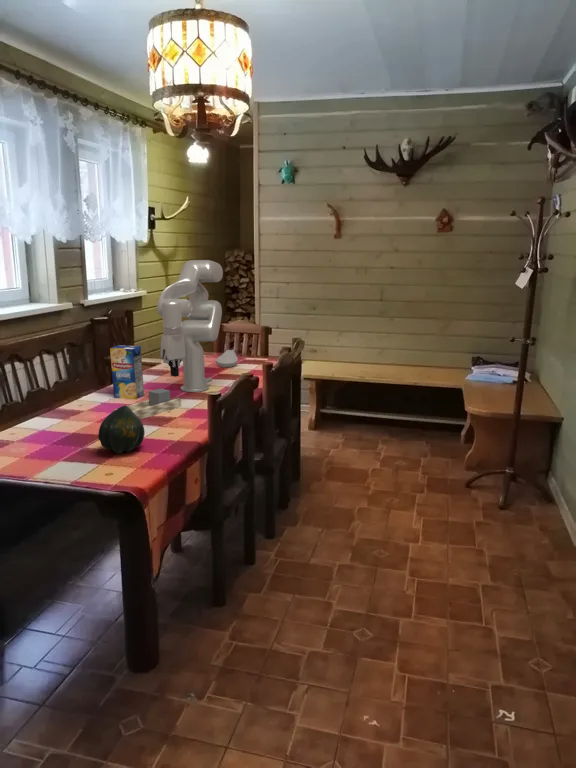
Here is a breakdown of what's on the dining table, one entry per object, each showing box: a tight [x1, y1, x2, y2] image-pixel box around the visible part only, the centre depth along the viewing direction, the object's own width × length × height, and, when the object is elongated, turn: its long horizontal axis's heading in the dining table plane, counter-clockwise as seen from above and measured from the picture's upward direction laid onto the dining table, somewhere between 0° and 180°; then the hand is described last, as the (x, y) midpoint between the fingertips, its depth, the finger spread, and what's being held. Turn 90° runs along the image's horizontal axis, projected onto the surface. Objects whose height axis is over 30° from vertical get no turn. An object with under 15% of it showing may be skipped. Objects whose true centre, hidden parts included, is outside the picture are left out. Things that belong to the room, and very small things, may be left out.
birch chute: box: [113, 397, 182, 420], centre depth 240 cm, size 26×9×4 cm, turn 143°
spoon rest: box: [215, 349, 239, 368], centre depth 328 cm, size 24×12×7 cm, turn 176°
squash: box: [97, 405, 146, 455], centre depth 199 cm, size 14×15×15 cm
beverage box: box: [109, 344, 145, 400], centre depth 262 cm, size 7×11×22 cm, turn 75°
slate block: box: [148, 388, 172, 406], centre depth 244 cm, size 6×6×6 cm
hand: (174, 375), depth 249 cm, fingers closed
